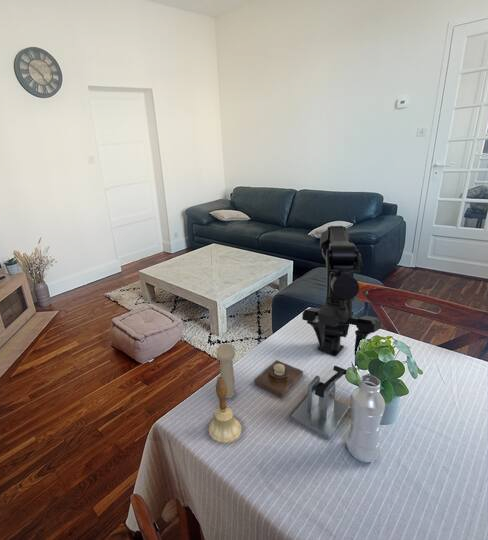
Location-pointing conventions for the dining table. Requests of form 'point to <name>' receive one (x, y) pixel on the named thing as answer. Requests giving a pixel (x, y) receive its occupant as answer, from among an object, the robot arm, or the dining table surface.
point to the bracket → (320, 410)
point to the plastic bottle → (366, 419)
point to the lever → (329, 381)
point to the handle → (227, 366)
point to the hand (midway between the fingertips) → (338, 350)
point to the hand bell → (224, 418)
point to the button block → (279, 379)
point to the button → (279, 369)
